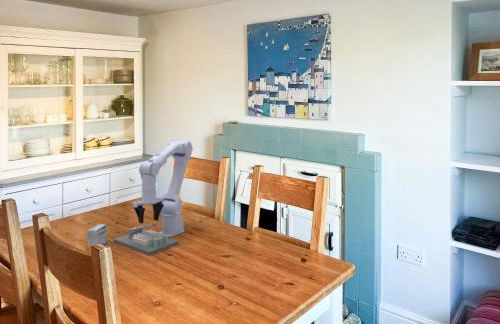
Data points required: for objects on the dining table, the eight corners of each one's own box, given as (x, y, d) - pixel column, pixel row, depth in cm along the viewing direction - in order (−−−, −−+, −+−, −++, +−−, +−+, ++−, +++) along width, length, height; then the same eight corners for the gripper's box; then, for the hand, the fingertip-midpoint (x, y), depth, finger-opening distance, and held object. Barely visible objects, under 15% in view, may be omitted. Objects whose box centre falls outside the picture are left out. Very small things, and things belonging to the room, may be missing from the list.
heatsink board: (143, 232, 201) (142, 220, 200) (178, 244, 186) (178, 231, 185) (113, 242, 188) (113, 229, 187) (149, 255, 174) (148, 242, 173)
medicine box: (97, 250, 179) (96, 230, 177) (88, 249, 180) (86, 229, 178) (107, 243, 187) (106, 224, 185) (98, 242, 188) (97, 223, 186)
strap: (131, 231, 189) (130, 228, 189) (138, 229, 192) (137, 226, 192) (155, 226, 179) (154, 223, 179) (161, 223, 181) (161, 221, 181)
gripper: (139, 193, 174) (139, 226, 175) (168, 189, 184) (168, 220, 186) (129, 191, 178) (129, 223, 180) (158, 187, 189) (158, 217, 191)
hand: (148, 221), depth 183 cm, fingers open, 7 cm apart
